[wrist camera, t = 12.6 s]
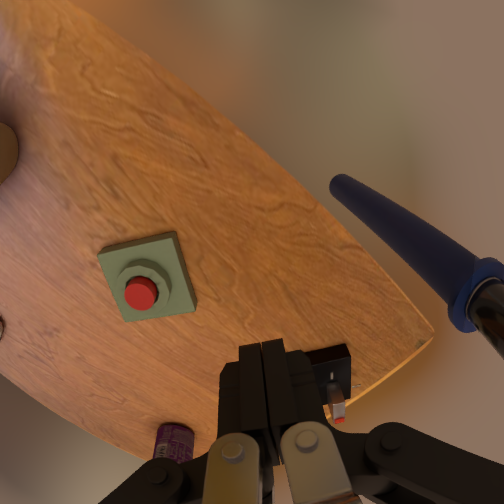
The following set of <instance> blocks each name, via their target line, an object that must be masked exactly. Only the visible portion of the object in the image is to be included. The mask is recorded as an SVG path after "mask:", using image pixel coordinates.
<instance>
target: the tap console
mask: <svg viewBox="0 0 504 504" xmlns="http://www.w3.org/2000/svg"><path fill="white" fill-rule="evenodd" d="M305 354H306V355H307V356H308V357H309V358H310V362H311V365H312V369H313V373H314V376H315V380H316V384H317V387H318V391H319V395H320V398H321V402H322V405H326V404H328V401H327V383H330V382H334V381H338V382H339V385H340V388H341V391H342V394H343V397H344V400H346V399H350V398H351V355H350V353H349V350H348V348H347V346H346V344H341V345H337V346H333V347H329V348H324V349H320V350H315V351H311V352H306V353H305ZM359 386H361V384H358V385H355V386H352V388H355V387H359Z"/></svg>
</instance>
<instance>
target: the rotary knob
mask: <svg viewBox="0 0 504 504" xmlns="http://www.w3.org/2000/svg"><path fill="white" fill-rule="evenodd" d="M327 401H328V406H329V409H330V413H331V417H332V420H333V423H335V424H337V423H341V422H344V421H345V400H344V397H343V394H342V391H341V388H340V385H339V382H338V381H334V382H330V383H327Z"/></svg>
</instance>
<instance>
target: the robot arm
mask: <svg viewBox="0 0 504 504" xmlns="http://www.w3.org/2000/svg"><path fill="white" fill-rule="evenodd" d="M464 312H465V316H466V318H467V319H468V320H469V321H470V322H471V323H472V324H473V325H474V327H475V328H476V329H477V330H478V331H479V332H480V333H481V334H482V335H483V336H484V337H485V338H486V340H487V341H488V342H489V343H490V344H491V345H492V346H493V348H494V349H495V350H496V351H497V352H498V353H499V355H500V356H501V357H502V358H503V359H504V280H503V279H500V280H499V279H498V278H497V277H495V276H489V277H486V278H484V279H483V280H481V281H480V282H479V283H478V284H477V285H476V286H475V287H474V288H473V290H472V291H471V293H470V294H469V296H468V298H467V301H466V304H465V310H464ZM219 387H220V389H219V405H218V432H217V439H216V441H215V442H214V443H213V444H212V445H211V447H210V449H209V451H208V452H207V453H205V454H204V455H202V456H200V457H198V458H195V459H192V460H189V461H186V462H183V463H180V464H178V463H177V462H176V461H174V460H172V459H170V458H166V457H159V458H154V459H151V460H149V461H147V462H146V463H145V464H143V465H142V466H141V467H140V468H139V469H138V470H137V471H135V473H133V474H132V475H131V476H130V477H129V478H128V479H126V480H125V481H124V482H123V483H122V484H121V485H120V486H118V487H117V488H116V489H115V490H114V491H113V492H111V493H110V494H109V495H108V496H107V497H105V498H104V499H103V500H102V501H101V502H100V503H98V504H275V491H274V476H273V466H277V465H280V461H279V456H280V459H281V462H282V464H285V469H286V473H287V477H288V482H289V486H290V490H291V494H292V499H293V502H294V504H363V503H362V501H361V499H360V497H359V496H358V495H363V496H364V497H365V498H367V499H369V500H371V501H372V502H375V503H376V504H504V465H502V464H499V463H497V462H494V461H491V460H488V459H486V458H483V457H480V456H478V455H475V454H473V453H470V452H467V451H465V450H462V449H460V448H457V447H455V446H453V445H450V444H448V443H445V442H443V441H441V440H438V439H436V438H434V437H431V436H429V435H427V434H424V433H422V432H420V431H418V430H415V429H413V428H411V427H409V426H407V425H404V424H402V423H397V422H389V423H384V424H381V425H379V426H377V427H375V428H374V429H373V430H371V431H370V433H366V434H365V433H345V432H341V431H339V430H337V429H335V428H334V427H332V426H331V425H330V424H329V423H328V421H327V419H326V417H325V413H324V409H323V406H322V402H321V398H320V395H319V391H318V387H317V384H316V380H315V376H314V373H313V369H312V365H311V362H310V358H309V357H308V356H307V355H306V354H305V353H304V352H303V351H302V350H296V351H291V352H286V353H285V349H284V344H283V339H282V338H280V339H275V340H270V341H264V342H262V347H261V344H260V342H259V343H254V344H248V345H243V346H239V361H236V362H230V363H226V365H225V366H224V368H223V370H222V372H221V373H220V382H219Z"/></svg>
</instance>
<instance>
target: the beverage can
mask: <svg viewBox="0 0 504 504" xmlns="http://www.w3.org/2000/svg"><path fill="white" fill-rule="evenodd" d="M193 448H194V434H193V433H192V432H191V431H190V430H188V429H186V428H184V427H181V426H177V425H165V426H162V427H160V428H159V429H158V432H157V437H156V442H155V448H154V453H153V459H154V458H159V457H166V458H170V459H172V460H174V461H176V462H177V463H178V464H180V463H183V462H186V461H189V460H192V459H193Z"/></svg>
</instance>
